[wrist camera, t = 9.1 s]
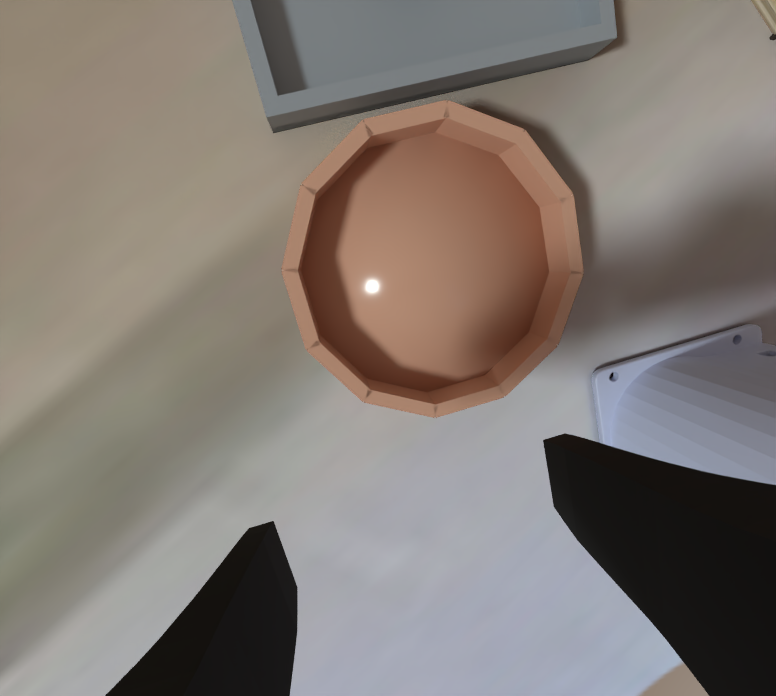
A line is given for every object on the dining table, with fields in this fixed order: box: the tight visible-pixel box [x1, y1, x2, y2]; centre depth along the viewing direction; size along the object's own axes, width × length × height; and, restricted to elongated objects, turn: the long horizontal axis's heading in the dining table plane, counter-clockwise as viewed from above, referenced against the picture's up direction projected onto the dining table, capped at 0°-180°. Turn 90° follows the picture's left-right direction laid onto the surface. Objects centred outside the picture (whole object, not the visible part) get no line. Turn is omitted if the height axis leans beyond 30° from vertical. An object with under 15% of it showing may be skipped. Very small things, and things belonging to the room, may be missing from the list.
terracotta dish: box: [282, 100, 584, 418], centre depth 17 cm, size 12×12×2 cm
